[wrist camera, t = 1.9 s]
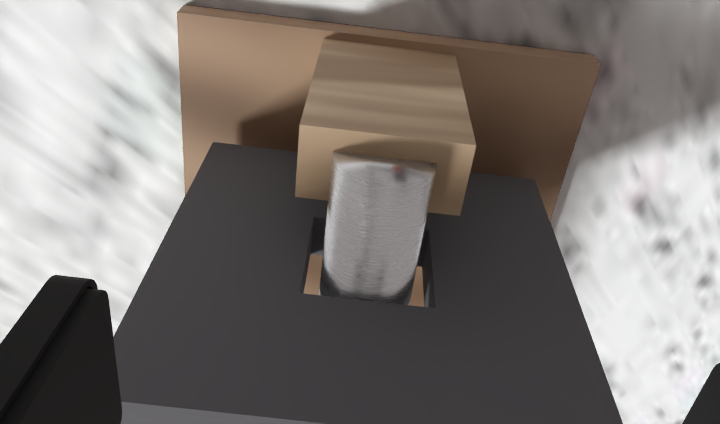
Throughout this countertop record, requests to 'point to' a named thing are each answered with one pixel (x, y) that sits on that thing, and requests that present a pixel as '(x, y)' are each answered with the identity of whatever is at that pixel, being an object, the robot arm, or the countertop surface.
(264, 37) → the stand
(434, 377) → the dark grey flat plate
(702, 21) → the countertop surface
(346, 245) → the pipe
